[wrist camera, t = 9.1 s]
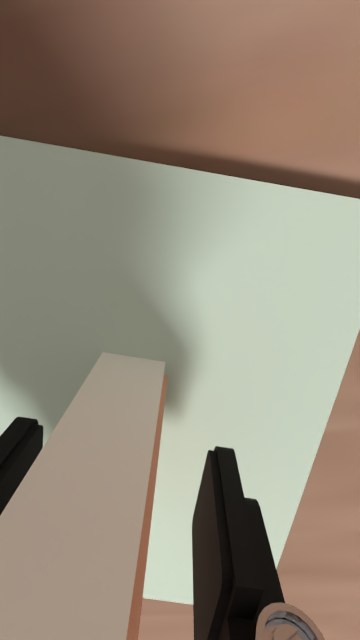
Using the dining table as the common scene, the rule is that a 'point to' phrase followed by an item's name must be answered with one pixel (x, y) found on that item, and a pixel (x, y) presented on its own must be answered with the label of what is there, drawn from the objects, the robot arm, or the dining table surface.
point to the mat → (180, 318)
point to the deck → (86, 512)
